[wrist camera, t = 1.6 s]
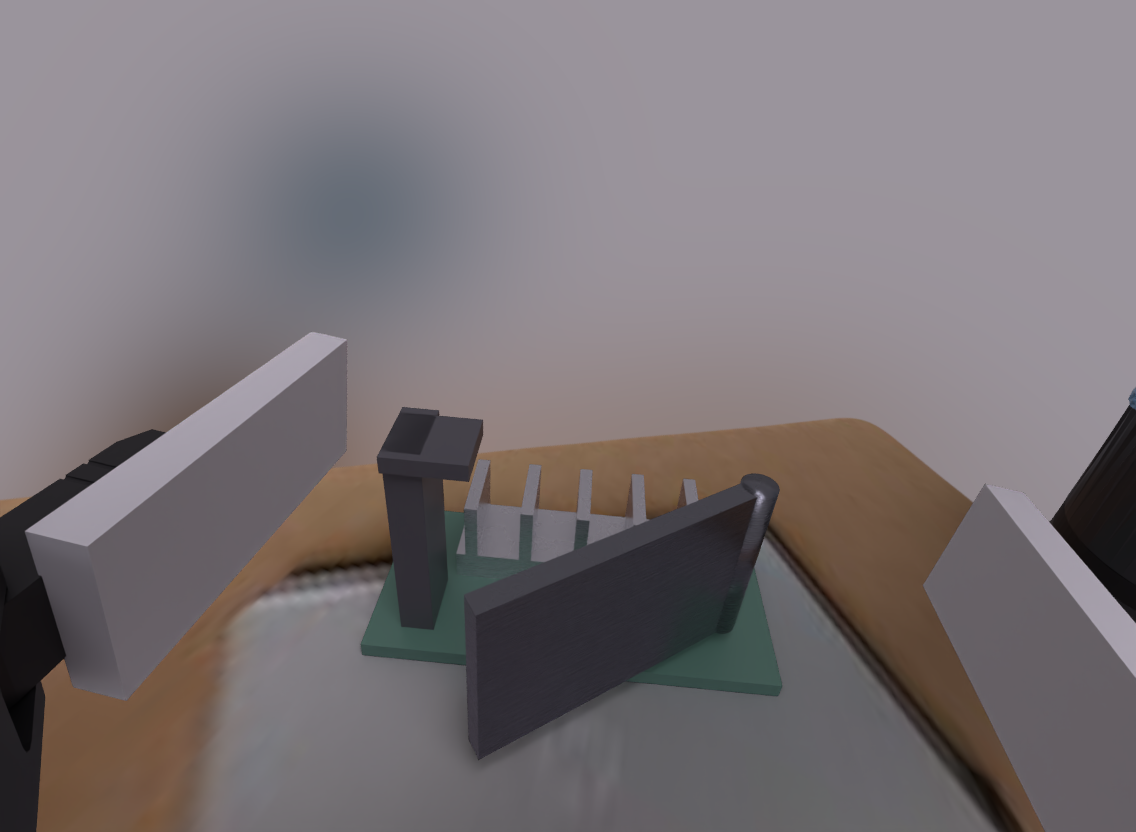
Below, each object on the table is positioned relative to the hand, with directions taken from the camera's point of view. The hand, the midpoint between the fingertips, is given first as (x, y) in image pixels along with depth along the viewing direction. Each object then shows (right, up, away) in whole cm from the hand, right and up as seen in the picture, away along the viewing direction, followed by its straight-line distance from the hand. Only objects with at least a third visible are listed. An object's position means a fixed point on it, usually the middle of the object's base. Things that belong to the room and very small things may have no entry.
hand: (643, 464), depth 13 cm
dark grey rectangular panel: (+1, -14, +23) cm, 27 cm away
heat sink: (-1, -9, +31) cm, 32 cm away
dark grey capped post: (-9, -11, +27) cm, 31 cm away
